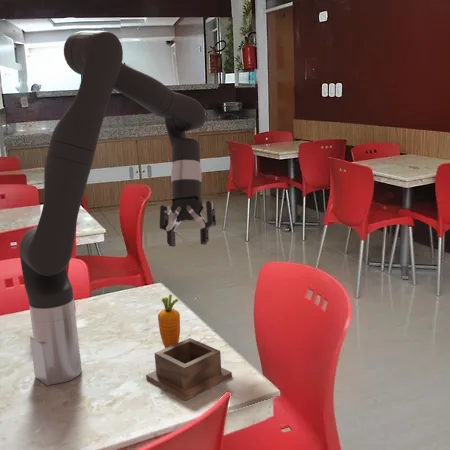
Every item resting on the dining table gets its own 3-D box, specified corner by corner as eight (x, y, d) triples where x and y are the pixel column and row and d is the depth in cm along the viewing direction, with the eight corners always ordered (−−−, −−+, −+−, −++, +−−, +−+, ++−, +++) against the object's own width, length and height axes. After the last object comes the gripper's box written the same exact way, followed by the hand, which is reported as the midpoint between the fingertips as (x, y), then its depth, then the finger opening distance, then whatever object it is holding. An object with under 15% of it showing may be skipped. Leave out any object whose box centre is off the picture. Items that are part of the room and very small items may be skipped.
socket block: (185, 400, 108) (183, 373, 107) (146, 379, 118) (144, 353, 116) (231, 376, 117) (230, 350, 116) (192, 358, 126) (190, 333, 125)
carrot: (171, 349, 131) (167, 290, 128) (186, 354, 128) (182, 294, 125) (156, 357, 127) (151, 296, 124) (171, 362, 124) (167, 300, 121)
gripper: (154, 181, 135) (154, 246, 133) (206, 174, 130) (208, 242, 128) (167, 186, 142) (168, 248, 140) (218, 180, 137) (220, 245, 135)
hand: (187, 245), depth 134 cm, fingers open, 8 cm apart
